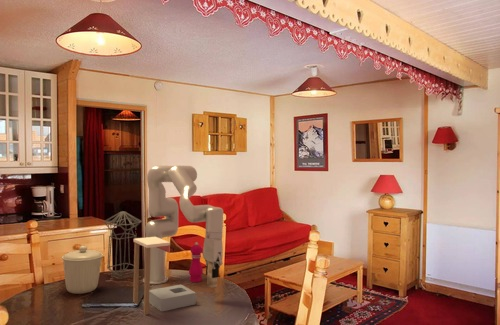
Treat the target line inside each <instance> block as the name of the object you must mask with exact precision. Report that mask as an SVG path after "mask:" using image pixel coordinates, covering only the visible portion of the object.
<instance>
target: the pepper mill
mask: <svg viewBox="0 0 500 325" xmlns="http://www.w3.org/2000/svg"><path fill="white" fill-rule="evenodd" d="M190 253H191V259H192V261H191V264H190V267H189V270H188V274H189V281H190V282H191V283H200V282H202V280H203V278H202V276H203V273H204V272H203V271H204V270H203V267H202V264H201V258H202V254H203V247H202V246H201V245H199V242H197V241H196V242H195V243H194V245H192V246H191V248H190Z"/></svg>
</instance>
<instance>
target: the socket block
mask: <svg viewBox="0 0 500 325" xmlns="http://www.w3.org/2000/svg"><path fill="white" fill-rule="evenodd" d="M196 296H197V292H195V291H194V290H192V289H190V288H189V287H187V286H185V285H183V284H176V285H175V284H174V285H172V286H171V285H169V286H165V287H160V288H159V287H158V288H154V289H149V305H152V306H153V307H154V308H155V309H157V310H158V311H159V312H161V313H162V312H167V311H170V310H175V309H180V308H185V307H188V306H193V305H196V300H197V297H196Z"/></svg>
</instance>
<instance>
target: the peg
mask: <svg viewBox="0 0 500 325" xmlns="http://www.w3.org/2000/svg"><path fill="white" fill-rule="evenodd" d="M216 261H217V260H216ZM216 264H217V263H215V265H216ZM212 269H213V263H212V262H210V261H208V271H207V275H206V287H207V288H216V287H217V286H218V277H216V278H212Z"/></svg>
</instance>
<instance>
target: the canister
mask: <svg viewBox="0 0 500 325" xmlns="http://www.w3.org/2000/svg"><path fill="white" fill-rule="evenodd" d="M103 257H104V254H103V253H102V252H100V251H98V250H93V249H88V246H86V245H80V246H79V247H78V250H73V251H69V252H67V253H65V254H64V255H62V256H61V260H62V261H63V272H64V281H65V288H66V290H67V292H68V293H70V294H73V295H74V294H75V295H76V294H77V295H81V294H82V295H83V294H87V293H88V294H89V293H91V292H93V291H95V290H96V289H97V287H98V284H99V280H100V279H99V278H100V274H101V273H100V272H101V267H102V265H101V264H102V258H103Z"/></svg>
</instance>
